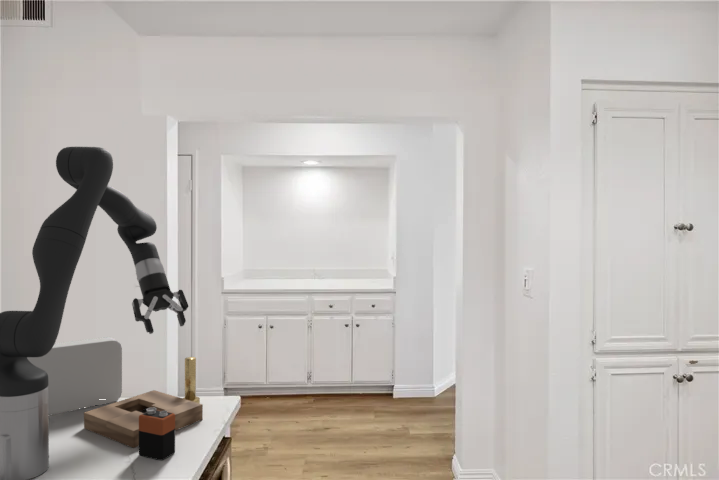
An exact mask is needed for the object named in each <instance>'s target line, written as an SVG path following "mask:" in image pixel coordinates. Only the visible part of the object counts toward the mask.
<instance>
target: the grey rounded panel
mask: <svg viewBox="0 0 719 480" xmlns="http://www.w3.org/2000/svg"><path fill="white" fill-rule="evenodd" d="M121 344H122V343H120V342H119V341H118V340H116V339H115V338H114V337H111V336H109V337H108V336H107V337H98V338H89V339H82V340H81V339H80V340H74V341H73V340H72V341H65V342H64V341H63V342H57V343H56V342H55V344H54V346H53V347H52V349H51V350H50V351H49V352H48V353H47V354H46V355H44V356H42V357H27V359H28V360H29V361H30V362H31V363H32V364H33V365H35V366H36V367H38V368H40V369H42V370H44V371H46V372H47V374H48V396H49V400H48V403H49V416H53V415H58V414H63V412H64V413H68V412H67V411H69V412H72V411H71V410H74V411H77V410H76V409H79V408H84V407H89V408H91V407H90V406H94V407H96V406H95V405H99V406H102V405H101V404H104V405H106V404H105V403H109V404H112V403H115V402H118V401H119V399H120V398H121V397H122V393H123V347H122V345H121ZM99 399H106V400H99ZM84 409H85V408H84ZM79 410H80V409H79Z"/></svg>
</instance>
